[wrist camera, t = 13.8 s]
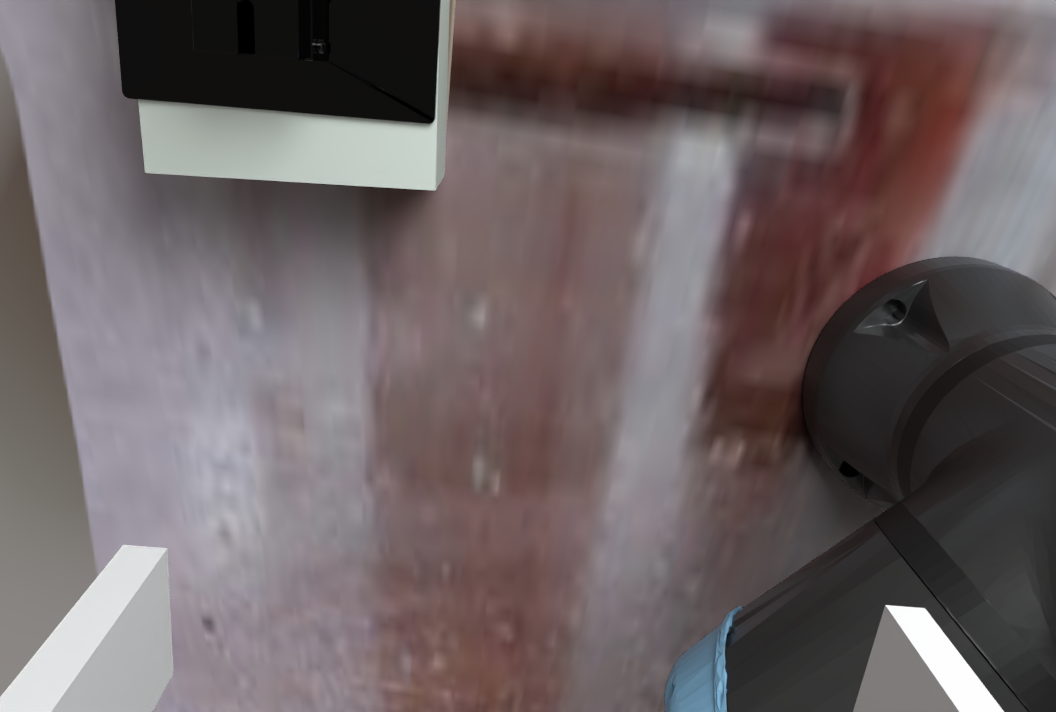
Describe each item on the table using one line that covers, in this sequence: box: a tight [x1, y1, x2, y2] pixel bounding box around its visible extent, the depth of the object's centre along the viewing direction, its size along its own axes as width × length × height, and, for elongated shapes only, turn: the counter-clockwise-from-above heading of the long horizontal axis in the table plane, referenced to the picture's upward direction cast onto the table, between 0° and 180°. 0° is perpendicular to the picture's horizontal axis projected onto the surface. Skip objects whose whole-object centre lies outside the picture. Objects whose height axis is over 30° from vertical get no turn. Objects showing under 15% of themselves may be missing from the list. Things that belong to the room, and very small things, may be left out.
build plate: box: [115, 0, 441, 124], centre depth 30 cm, size 12×7×5 cm, turn 85°
